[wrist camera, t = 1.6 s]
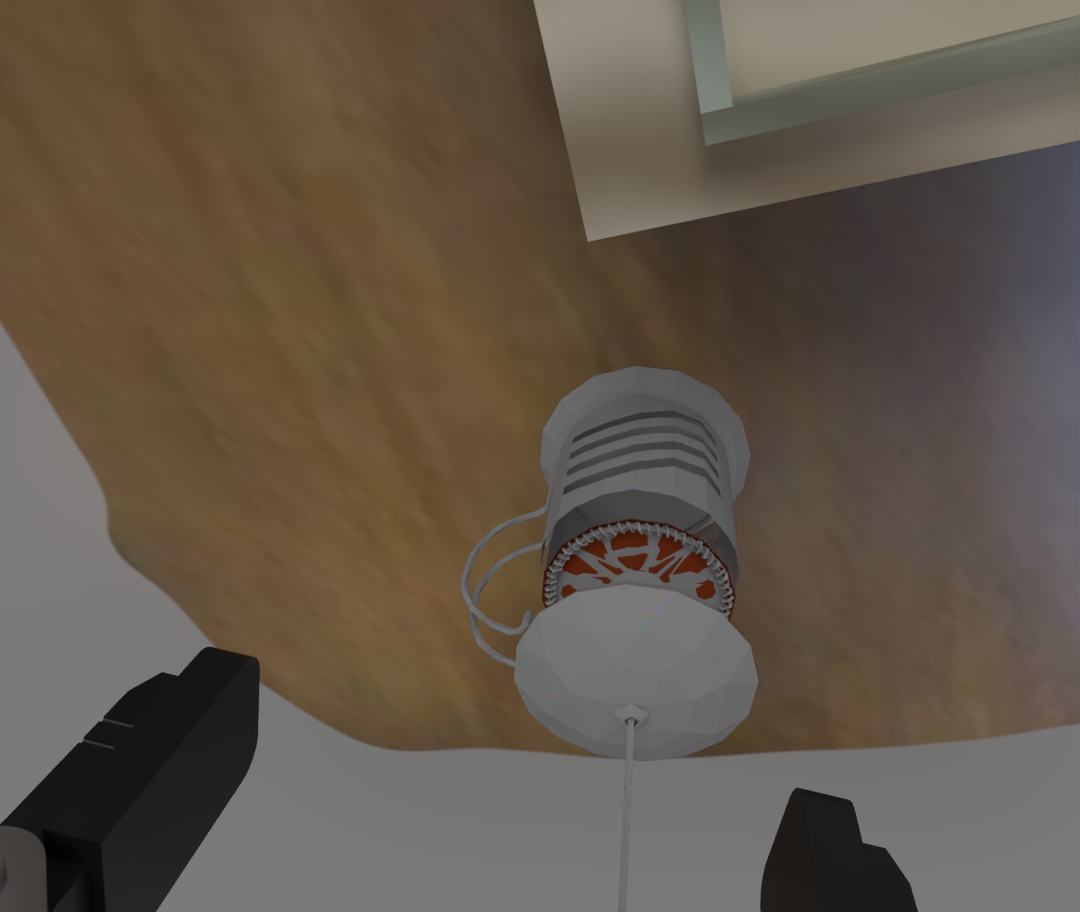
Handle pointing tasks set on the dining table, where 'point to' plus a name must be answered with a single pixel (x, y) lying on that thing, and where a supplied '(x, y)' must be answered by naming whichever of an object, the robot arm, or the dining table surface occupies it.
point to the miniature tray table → (796, 96)
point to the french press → (635, 574)
